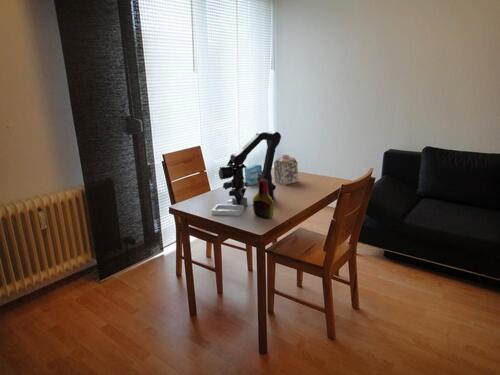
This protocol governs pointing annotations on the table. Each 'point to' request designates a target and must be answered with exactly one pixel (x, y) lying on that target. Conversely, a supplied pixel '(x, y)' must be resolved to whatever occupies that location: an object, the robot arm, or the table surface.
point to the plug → (243, 202)
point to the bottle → (263, 201)
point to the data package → (252, 174)
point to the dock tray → (228, 209)
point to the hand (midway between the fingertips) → (239, 202)
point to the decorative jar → (286, 170)
